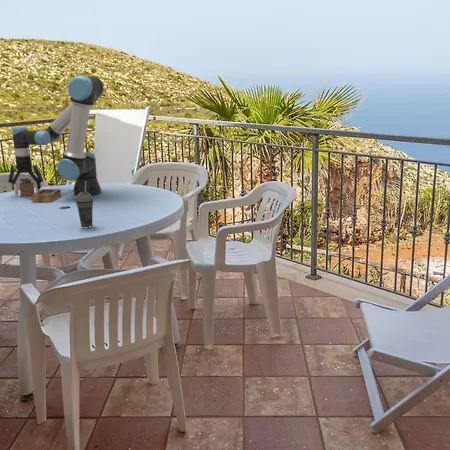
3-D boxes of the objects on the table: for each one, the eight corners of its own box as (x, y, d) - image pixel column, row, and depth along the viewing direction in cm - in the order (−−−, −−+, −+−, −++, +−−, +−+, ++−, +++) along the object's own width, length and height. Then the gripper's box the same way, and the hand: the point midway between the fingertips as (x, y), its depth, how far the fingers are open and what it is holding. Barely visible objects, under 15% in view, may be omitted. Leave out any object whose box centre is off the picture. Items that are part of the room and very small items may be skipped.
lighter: (36, 195, 282) (34, 178, 279) (33, 197, 278) (31, 179, 276) (22, 195, 282) (20, 178, 280) (19, 197, 279) (17, 179, 276)
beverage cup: (79, 224, 223) (75, 179, 217) (96, 224, 223) (92, 179, 218) (76, 229, 216) (72, 183, 210) (94, 228, 216) (90, 182, 211)
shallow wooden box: (61, 196, 278) (60, 189, 277) (51, 202, 265) (50, 194, 264) (43, 196, 279) (42, 189, 278) (32, 202, 265) (31, 194, 264)
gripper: (47, 154, 277) (51, 193, 283) (4, 154, 278) (9, 193, 284) (41, 156, 270) (46, 196, 276) (-2, 156, 271) (3, 196, 277)
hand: (27, 195), depth 280 cm, fingers open, 11 cm apart
